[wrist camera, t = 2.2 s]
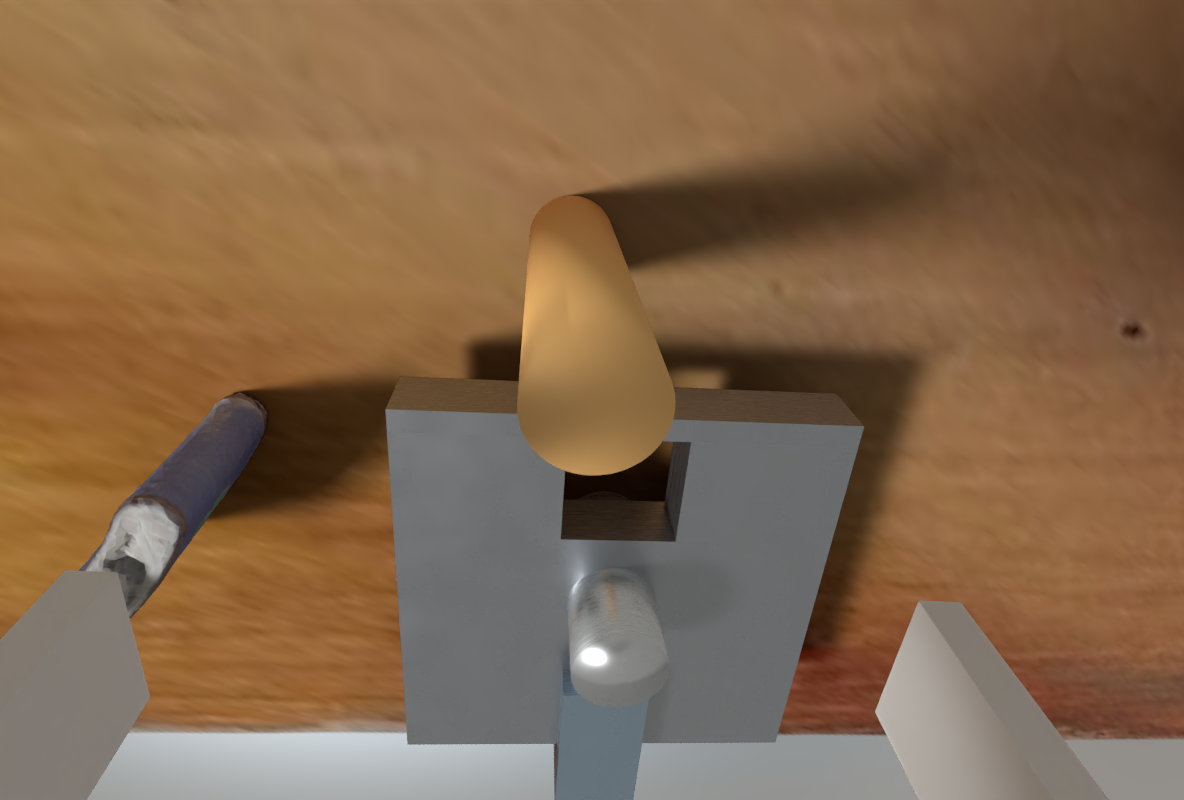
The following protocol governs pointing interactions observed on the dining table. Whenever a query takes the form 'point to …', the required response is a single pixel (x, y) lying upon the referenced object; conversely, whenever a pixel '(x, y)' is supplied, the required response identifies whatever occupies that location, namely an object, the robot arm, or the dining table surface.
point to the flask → (178, 498)
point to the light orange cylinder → (587, 348)
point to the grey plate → (608, 576)
